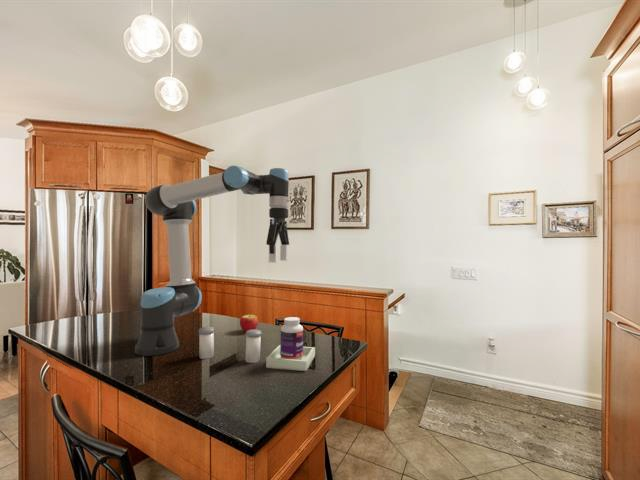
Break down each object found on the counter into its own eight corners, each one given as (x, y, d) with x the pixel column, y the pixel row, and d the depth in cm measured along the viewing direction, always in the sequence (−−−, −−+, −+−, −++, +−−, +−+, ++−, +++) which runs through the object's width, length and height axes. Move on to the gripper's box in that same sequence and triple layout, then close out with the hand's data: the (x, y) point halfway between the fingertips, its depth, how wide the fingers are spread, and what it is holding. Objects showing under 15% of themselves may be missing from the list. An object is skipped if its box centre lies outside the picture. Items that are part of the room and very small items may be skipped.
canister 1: (196, 359, 111) (196, 331, 110) (202, 353, 116) (202, 326, 116) (210, 359, 110) (210, 331, 110) (216, 353, 116) (216, 326, 115)
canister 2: (243, 362, 107) (244, 333, 107) (247, 356, 113) (248, 329, 113) (258, 363, 107) (259, 334, 107) (261, 357, 112) (263, 329, 112)
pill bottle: (299, 364, 105) (299, 322, 105) (277, 362, 106) (277, 320, 107) (305, 356, 112) (305, 316, 113) (284, 354, 114) (285, 315, 114)
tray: (266, 367, 104) (266, 358, 104) (279, 352, 117) (279, 344, 117) (306, 371, 101) (306, 361, 101) (315, 355, 115) (315, 347, 115)
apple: (261, 330, 147) (261, 309, 147) (248, 335, 139) (248, 313, 139) (249, 328, 151) (249, 307, 151) (235, 332, 144) (236, 310, 144)
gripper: (277, 204, 109) (277, 263, 109) (296, 211, 134) (295, 259, 133) (257, 204, 111) (257, 263, 110) (279, 211, 135) (279, 259, 135)
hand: (278, 261), depth 122 cm, fingers open, 13 cm apart
